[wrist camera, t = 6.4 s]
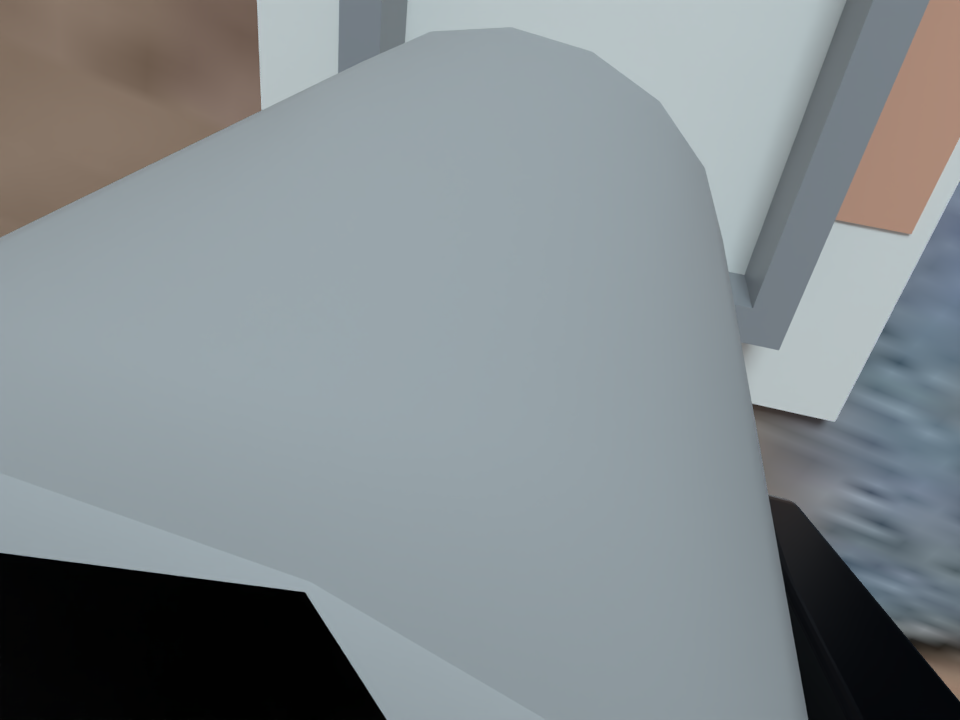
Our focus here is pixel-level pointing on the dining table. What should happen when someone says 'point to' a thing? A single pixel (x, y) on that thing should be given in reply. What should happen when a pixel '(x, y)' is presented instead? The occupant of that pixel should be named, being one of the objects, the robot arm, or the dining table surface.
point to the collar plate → (742, 141)
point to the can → (391, 417)
